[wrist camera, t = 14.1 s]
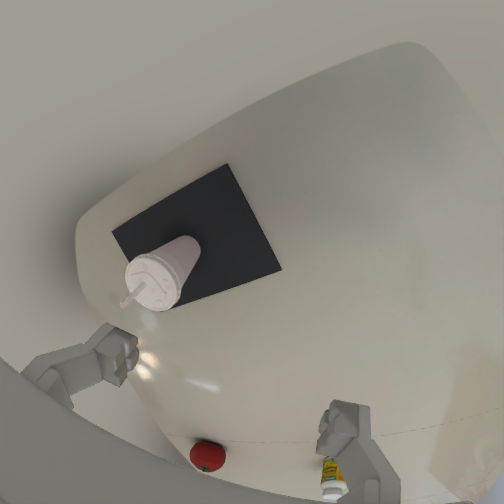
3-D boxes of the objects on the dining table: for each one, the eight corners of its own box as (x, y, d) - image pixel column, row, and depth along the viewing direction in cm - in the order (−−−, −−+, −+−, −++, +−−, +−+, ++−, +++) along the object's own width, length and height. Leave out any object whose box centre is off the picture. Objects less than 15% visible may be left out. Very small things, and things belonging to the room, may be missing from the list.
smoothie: (173, 216, 37) (104, 265, 25) (218, 240, 37) (164, 302, 25) (159, 256, 40) (97, 313, 28) (200, 279, 40) (149, 347, 28)
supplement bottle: (333, 467, 54) (329, 502, 45) (318, 459, 53) (313, 496, 45) (353, 460, 52) (350, 497, 43) (338, 452, 51) (334, 491, 42)
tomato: (232, 445, 57) (222, 471, 51) (224, 457, 61) (215, 481, 54) (197, 432, 58) (186, 457, 52) (193, 446, 62) (182, 469, 55)
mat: (227, 163, 34) (226, 164, 33) (281, 268, 37) (281, 270, 37) (113, 230, 41) (111, 231, 41) (161, 310, 45) (160, 312, 44)
